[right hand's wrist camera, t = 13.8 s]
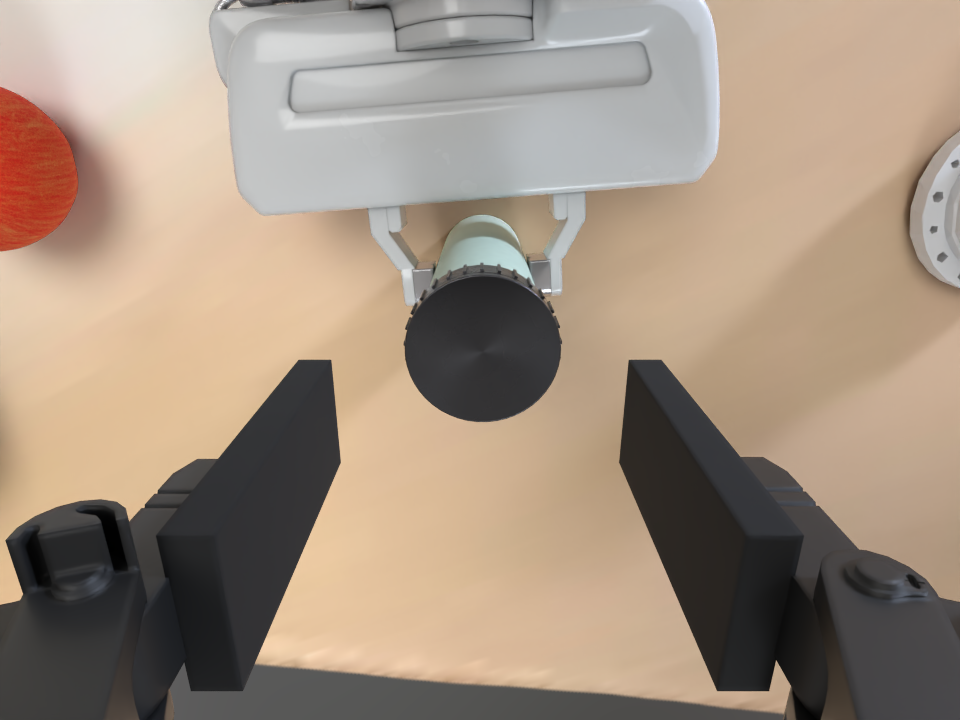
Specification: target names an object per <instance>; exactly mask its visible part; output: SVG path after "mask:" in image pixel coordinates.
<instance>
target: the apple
mask: <svg viewBox="0 0 960 720" xmlns="http://www.w3.org/2000/svg"><path fill="white" fill-rule="evenodd" d="M77 190H78V176H77V170H76V166H75V161H74V157H73V154H72V150H71V148H70V145H69V143H68V141H67V139H66V138H65V136H64V135H63V133H62V132H61V130H60V129H59V128H58V127H57V125H56V124H55V123H54V122H53V121H52V120H51V119H50V118H49V117H48V116H47V115H46V114H45V113H44V112H43V111H41V110H40V109H39V108H38V107H36V106H35V105H34V104H32V103H31V102H29V101H28V100H26V99H25V98H23V97H21V96H20V95H18V94H16V93H14V92H11V91H9V90H7V89H4V88H2V87H0V251H7V250H13V249H18V248H22V247H24V246H27V245H30V244H32V243H34V242H36V241H38V240H40V239H42V238H44V237H45V236H47V235H48V234H50V233H51V232H52V231H54V230H55V229H56V228H57V227H58V226H59V225H60V224H61V223H62V221H63V220H64V219H65V217H66V216H67V214H68V213H69V211H70V209H71V207H72V205H73V203H74V200H75V198H76V194H77Z"/></svg>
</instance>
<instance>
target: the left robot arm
mask: <svg viewBox="0 0 960 720" xmlns="http://www.w3.org/2000/svg"><path fill="white" fill-rule="evenodd" d="M237 1H240V3H241V4H242V6H244V7H246V8H234V9H228V8H229V7H230V6H231V5H232V4H233V3H235V2H237ZM286 3H291V4H286ZM277 4H280V5H277ZM209 31H210V37H211V42H212V47H213V52H214V57H215V62H216V66H217V69H218V72H219V75H220V77H221V79H222V81H223V83H224V84H225V86H226V87H227V94H228V116H229V129H230V140H231V149H232V157H233V164H234V171H235V177H236V183H237V187H238V191H239V193H240V195H241V196H242V198H243V199H244V200H245V201H246V202H247V203H248V204H249V205H250V206H251V207H252V208H253V209H254V210H255V211H257V212H258V213H259V214H260V215H263V216H273V215H286V214H299V213H312V212H325V211H338V210H351V209H364V208H368V215H369V222H370V229H371V235H372V236H373V238H374V239H375V240H376V242H377V243H378V244H379V246H380V247H381V248H382V250H383V251H384V252H385V254H386V255H387V256H388V258H389V259H390V260H391V262H392V263H393V264H394V265H395V267H396V268H397V269H398V270H401V275H402V283H403V291H404V300H405V304H406V306H414V304H415V303H417V304H418V302H419V299H420V296H421V294H422V291H423V290H424V289H425V290H427V289H428V288H429V287H430V284H431V281H432V278H433V275H434V273H435V270H436V262H435V261H426V262H418V259H417V258H416V256H415V255H414V254H413V252H412V251H411V249H410V248H409V246H408V245H407V243H406V242H405V241H404V239H403V238H402V236H401V235H400V233H399V232H400V231H401V230H402V229H403V228H404V226H405V225H406V224H407V216H406V206H405V205H416V204H428V203H441V202H454V201H467V200H480V199H493V198H506V197H519V196H532V195H545V194H548V199H549V213H550V214H551V215H552V216H553V217H554V218H555V219H556V220H559V221H558V223H557V225H556V227H555V229H554V231H553V233H552V235H551V237H550V239H549V241H548V243H547V245H546V247H545V249H544V251H543V252H544V253H534V254H527V265H528V268H529V271H530V273H531V276H532V279H533V282H534V284H535V286H536V287H537V288H538V289H539V288H541V289H542V291H543V293H544V296H555V295H561V294H562V262H561V258H564V257H565V255H566V254H567V252H568V250H569V248H570V246H571V245H572V243H573V241H574V239H575V237H576V235H577V234H578V232H579V230H580V228H581V226H582V224H583V223H584V221H585V219H586V201H585V191H596V190H609V189H622V188H635V187H648V186H661V185H674V184H686V183H694V182H696V181H698V180H699V179H700V178H701V177H702V175H703V174H704V173H705V172H706V170H707V169H708V167H709V166H710V165H711V163H712V162H713V160H714V159H715V157H716V154H717V150H718V140H719V119H720V95H719V67H718V55H717V42H716V34H715V28H714V23H713V19H712V16H711V13H710V10H709V8H708V6H707V4H706V2H705V1H704V0H351V1H350V0H219V1H218V2H217V4H216V5H215V7H214V9H213V12H212V14H211V15H210V20H209Z"/></svg>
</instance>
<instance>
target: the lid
mask: <svg viewBox="0 0 960 720" xmlns="http://www.w3.org/2000/svg"><path fill="white" fill-rule="evenodd" d="M552 313H554V310H553V307H552V305H551V303H550V301H549V302H547V301H546V299H545V296H544V293H543V291H542V289H541V288H539V289H538V288H537V287H536V286H535V285H534V284H533V283H532V282H531V279H530V278H529V277H528V278H527V279H526V278H525V277H523V276H522V275H520V274H518V273H517V271H516V270H515V269H513V271H512V270H509V269H506V268H503V267H501V265H500V264H497V266H493V265H484V263H480V265H473V266H467V264H465V265H464V266H463V268H459V269H457V270H454V271H451V270H448V272H447V274H446V275H444V276H442V277H441V278H439V279H437V278H435V279H434V281H433V284H432V285H431V286H430V287H429V288H428V289H427V290H425V289H424V290H423V291H422V294H421V296H420V299H419V302H418V304H417V303H415V304H414V306H413V309H412V311H411V314H412V318H411V317H409V320H408V322H407V325H406V328H405V329H406V330H407V333H406V338H405V341H404V346H405V360H406V364H407V368H408V371H409V374H410V376H411V378H412V380H413V382H414V384H415V385H416V387H417V389H418V390H419V391H420V393H421V394H422V395H423V396H424V397H425V398H426V399H427V400H428V401H429V402H430V403H431V404H432V405H434V406H435V407H437V408H438V409H439V410H441V411H443V412H445V413H447V414H449V415H451V416H454V417H456V418H459V419H463V420H467V421H474V422H491V421H498V420H503V419H507V418H509V417H512V416H515V415H517V414H519V413H521V412H523V411H525V410H526V409H528V408H529V407H531V406H532V405H533V404H534V403H535V402H537V401H538V400H539V399H540V398H541V397H542V396H543V394H544V393H545V392H546V391H547V389H548V388H549V386H550V385H551V383H552V381H553V379H554V377H555V375H556V372H557V370H558V367H559V362H560V358H561V357H560V356H561V344H562V340H561V338H560V334H559V330H558V328H560V325H559V323H558V320H557V318H556V316H553V314H552Z"/></svg>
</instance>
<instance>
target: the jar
mask: <svg viewBox="0 0 960 720" xmlns="http://www.w3.org/2000/svg"><path fill="white" fill-rule="evenodd" d="M480 263H484V265H493V266H497V264H500V265H501V267H503V268H506V269H509V270H512V271H513V269H515V270H516V271H517V273H518V274H520V275H522V276H523V277H525V278H526V279H527V278H528V277H529V278H530V279H531V282H532V283H533V284H534V282H533V279H532V276H531V273H530V271H529V268H528V265H527V262H526V260H525V257H524V254H523V251H522V249H521V246H520V243H519V241H518V238H517V236H516V234H515V232H514V231H513V230H512V228H511V227H510V226H509V225H508V224H507V223H505V222H504V221H502V220H501V219H499V218H497V217H494V216H490V215H474V216H470V217H468V218H465V219H464V220H462V221H460V222H459V223H458V224H456V225H455V226H454V227H453V229H452V230H451V231H450V233H449V234H448V236H447V239H446V241H445V244H444V247H443V250H442V253H441V255H440V258H439V261H438V264H437V267H436V270H435V273H434V275H433V278H432V281H431V284H430V286H431V285H432V284H433V281H434V279H435V278H437V279H439V278H441V277H442V276H444V275H446V274H447V272H448V270H451V271H454V270H457V269H459V268H463V266H464V265H465V264H467V266H473V265H480ZM534 285H535V284H534Z"/></svg>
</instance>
